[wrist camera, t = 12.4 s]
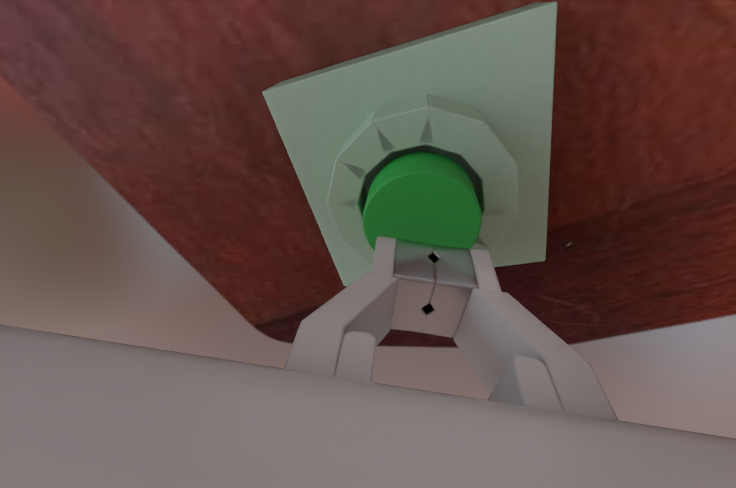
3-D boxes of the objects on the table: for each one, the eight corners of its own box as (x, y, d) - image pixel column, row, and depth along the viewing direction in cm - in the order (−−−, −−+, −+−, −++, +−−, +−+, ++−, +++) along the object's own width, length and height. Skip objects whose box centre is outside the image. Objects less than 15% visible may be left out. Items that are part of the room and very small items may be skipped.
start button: (478, 236, 13) (486, 263, 11) (381, 250, 14) (378, 277, 12) (468, 139, 11) (477, 158, 9) (355, 164, 12) (347, 185, 10)
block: (532, 234, 17) (560, 288, 13) (350, 261, 19) (337, 311, 16) (535, 2, 11) (584, -1, 8) (281, 81, 14) (240, 102, 10)
